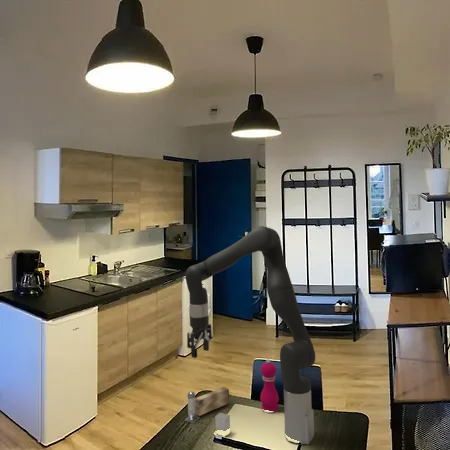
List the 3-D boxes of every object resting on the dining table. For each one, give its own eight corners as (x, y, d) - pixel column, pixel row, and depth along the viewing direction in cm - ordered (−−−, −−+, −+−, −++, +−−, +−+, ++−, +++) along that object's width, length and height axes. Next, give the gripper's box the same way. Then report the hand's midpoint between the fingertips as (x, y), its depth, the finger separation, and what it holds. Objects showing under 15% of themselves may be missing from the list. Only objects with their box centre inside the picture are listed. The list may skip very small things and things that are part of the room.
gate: (199, 416, 165) (198, 400, 165) (195, 413, 167) (194, 398, 167) (229, 403, 175) (229, 388, 174) (225, 400, 177) (224, 386, 176)
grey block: (230, 432, 155) (230, 414, 154) (225, 437, 151) (225, 419, 151) (221, 429, 157) (220, 411, 156) (215, 434, 153) (215, 416, 153)
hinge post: (199, 418, 165) (198, 390, 165) (193, 423, 162) (192, 395, 161) (190, 415, 167) (189, 388, 167) (184, 420, 164) (183, 392, 163)
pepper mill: (278, 414, 166) (276, 363, 165) (259, 413, 168) (257, 362, 166) (279, 405, 173) (278, 356, 172) (261, 404, 175) (260, 355, 174)
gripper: (200, 308, 182) (202, 346, 183) (180, 317, 169) (182, 358, 170) (216, 310, 178) (217, 349, 179) (196, 319, 166) (198, 361, 167)
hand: (200, 353), depth 175 cm, fingers open, 8 cm apart
